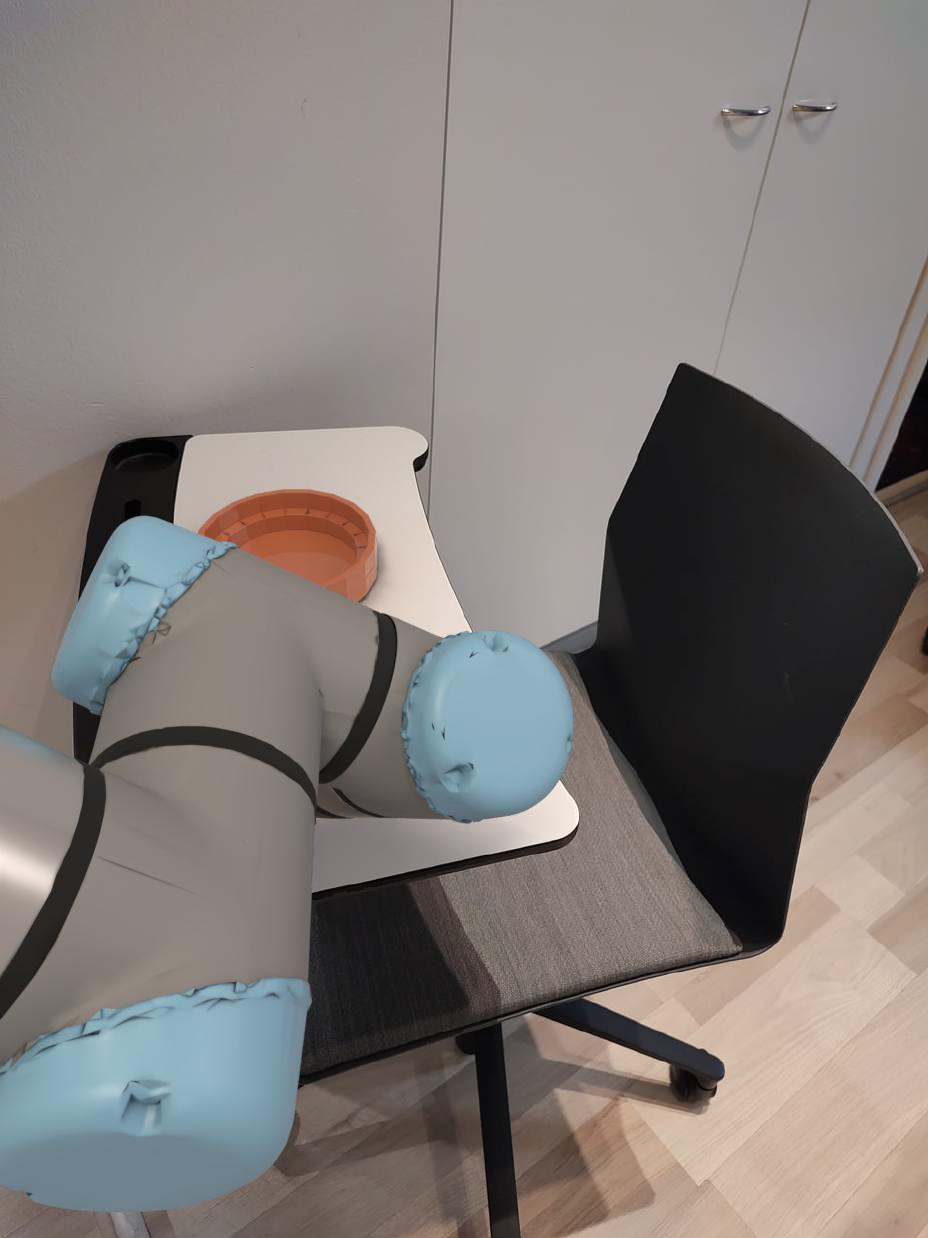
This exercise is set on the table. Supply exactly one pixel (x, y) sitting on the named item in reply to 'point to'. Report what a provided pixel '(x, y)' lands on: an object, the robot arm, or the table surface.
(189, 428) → the table surface
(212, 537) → the bowl
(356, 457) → the table surface
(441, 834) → the table surface
